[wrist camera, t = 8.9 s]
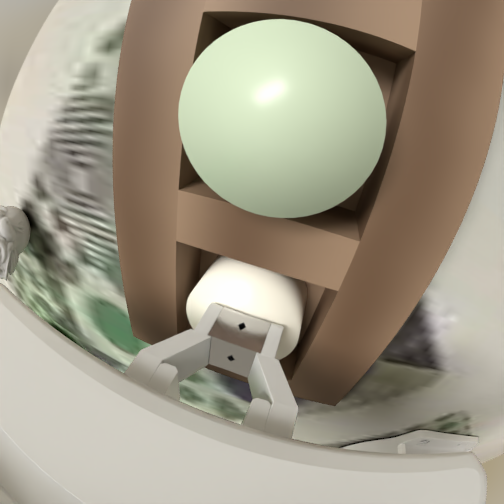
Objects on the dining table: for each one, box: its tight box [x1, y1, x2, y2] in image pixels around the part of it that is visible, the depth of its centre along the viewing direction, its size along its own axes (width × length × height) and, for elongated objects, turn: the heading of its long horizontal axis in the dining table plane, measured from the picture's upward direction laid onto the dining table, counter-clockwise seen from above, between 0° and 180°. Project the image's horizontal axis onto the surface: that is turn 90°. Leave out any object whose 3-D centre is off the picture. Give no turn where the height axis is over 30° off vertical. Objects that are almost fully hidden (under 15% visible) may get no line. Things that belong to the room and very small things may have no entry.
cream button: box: [186, 255, 307, 360], centre depth 12 cm, size 5×5×2 cm
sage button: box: [178, 19, 386, 218], centre depth 6 cm, size 5×5×2 cm
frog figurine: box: [0, 205, 30, 280], centre depth 17 cm, size 6×7×7 cm
